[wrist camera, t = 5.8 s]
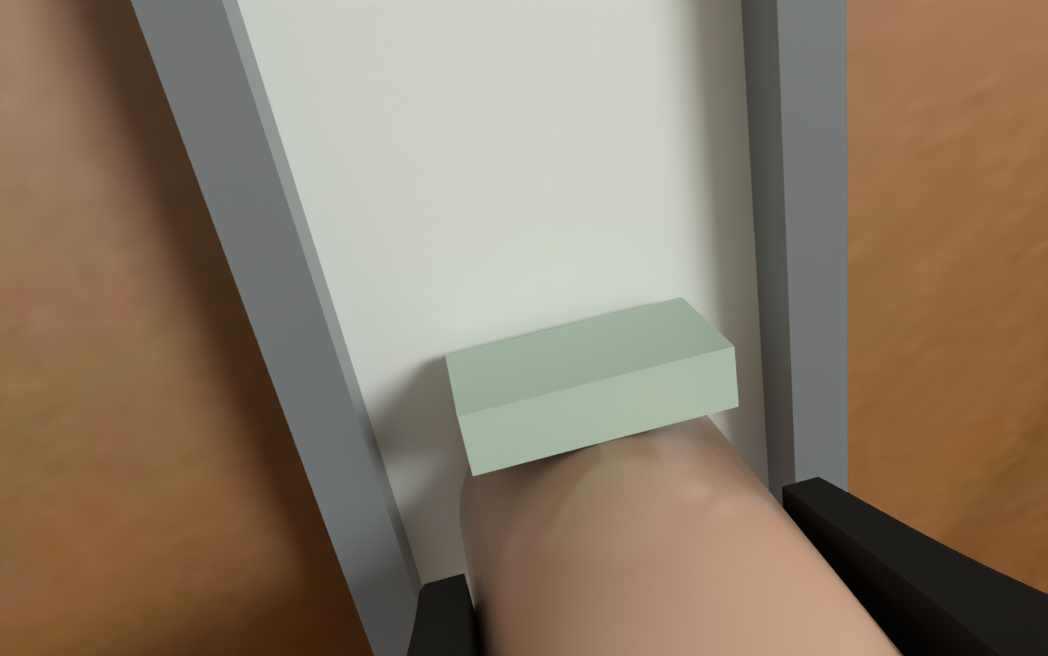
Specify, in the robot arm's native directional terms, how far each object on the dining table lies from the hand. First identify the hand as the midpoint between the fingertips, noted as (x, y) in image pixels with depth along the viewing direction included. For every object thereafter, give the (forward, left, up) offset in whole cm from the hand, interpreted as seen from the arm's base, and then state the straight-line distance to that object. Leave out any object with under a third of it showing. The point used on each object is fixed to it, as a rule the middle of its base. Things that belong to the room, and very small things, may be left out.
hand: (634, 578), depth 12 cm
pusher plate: (0, +3, -2) cm, 4 cm away
